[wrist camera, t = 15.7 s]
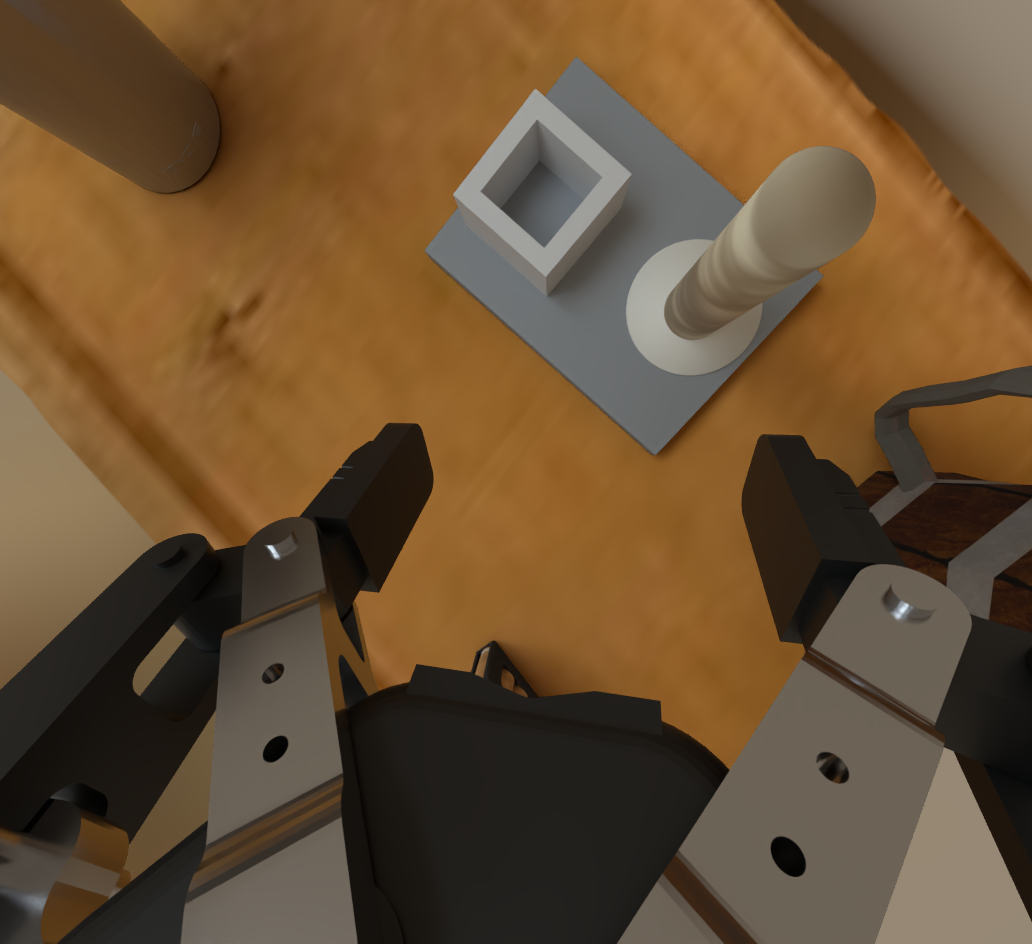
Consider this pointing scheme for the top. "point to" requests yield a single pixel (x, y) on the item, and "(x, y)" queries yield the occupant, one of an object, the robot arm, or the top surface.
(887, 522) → the mug
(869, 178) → the peg
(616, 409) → the board
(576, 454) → the top surface
